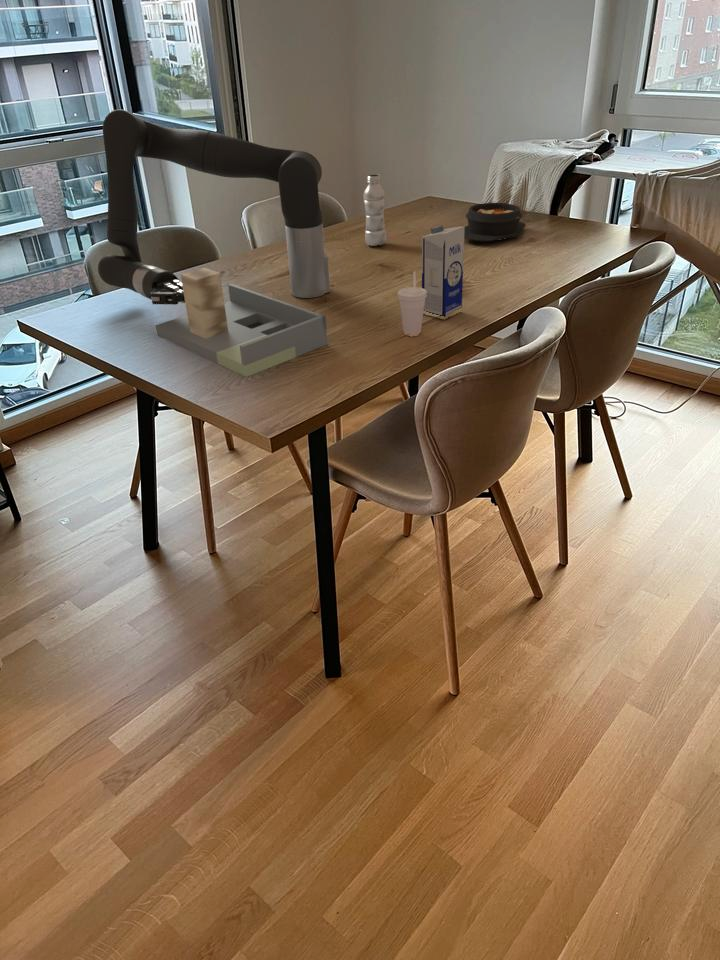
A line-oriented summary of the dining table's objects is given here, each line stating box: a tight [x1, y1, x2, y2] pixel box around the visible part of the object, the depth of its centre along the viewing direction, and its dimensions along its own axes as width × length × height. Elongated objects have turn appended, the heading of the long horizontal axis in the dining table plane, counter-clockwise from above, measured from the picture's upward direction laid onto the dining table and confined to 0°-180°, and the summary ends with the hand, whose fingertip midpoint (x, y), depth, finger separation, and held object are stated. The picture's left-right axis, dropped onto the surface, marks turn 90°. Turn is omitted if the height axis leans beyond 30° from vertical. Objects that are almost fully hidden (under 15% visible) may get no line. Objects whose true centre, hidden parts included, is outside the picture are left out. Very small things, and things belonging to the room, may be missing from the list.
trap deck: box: [154, 283, 328, 378], centre depth 168 cm, size 22×34×6 cm, turn 44°
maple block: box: [180, 267, 228, 339], centre depth 164 cm, size 6×6×13 cm
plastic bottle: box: [363, 173, 387, 247], centre depth 223 cm, size 6×7×20 cm
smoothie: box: [396, 270, 427, 335], centre depth 165 cm, size 6×6×14 cm
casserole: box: [464, 202, 527, 242], centre depth 230 cm, size 25×19×8 cm
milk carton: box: [421, 225, 465, 317], centre depth 173 cm, size 7×7×20 cm
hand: (197, 300), depth 166 cm, fingers closed
